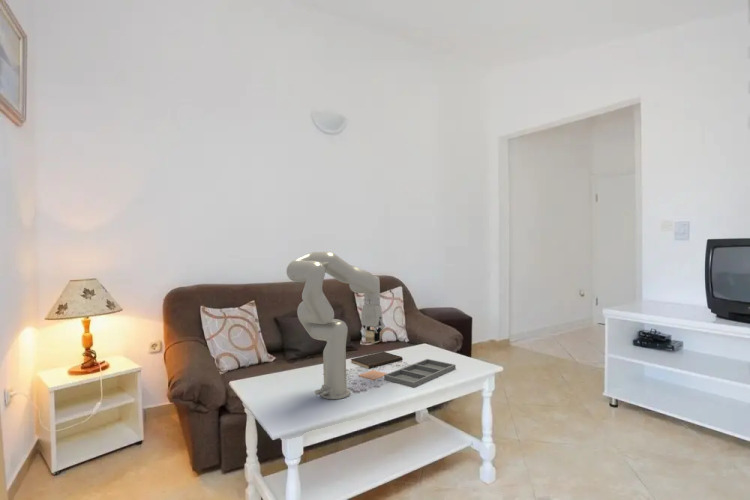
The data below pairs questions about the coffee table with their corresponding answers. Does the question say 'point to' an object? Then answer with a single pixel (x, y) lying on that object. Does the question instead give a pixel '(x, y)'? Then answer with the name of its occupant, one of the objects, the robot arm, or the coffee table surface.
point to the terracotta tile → (372, 375)
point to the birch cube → (370, 335)
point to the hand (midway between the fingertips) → (372, 339)
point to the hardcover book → (376, 360)
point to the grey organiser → (419, 372)
